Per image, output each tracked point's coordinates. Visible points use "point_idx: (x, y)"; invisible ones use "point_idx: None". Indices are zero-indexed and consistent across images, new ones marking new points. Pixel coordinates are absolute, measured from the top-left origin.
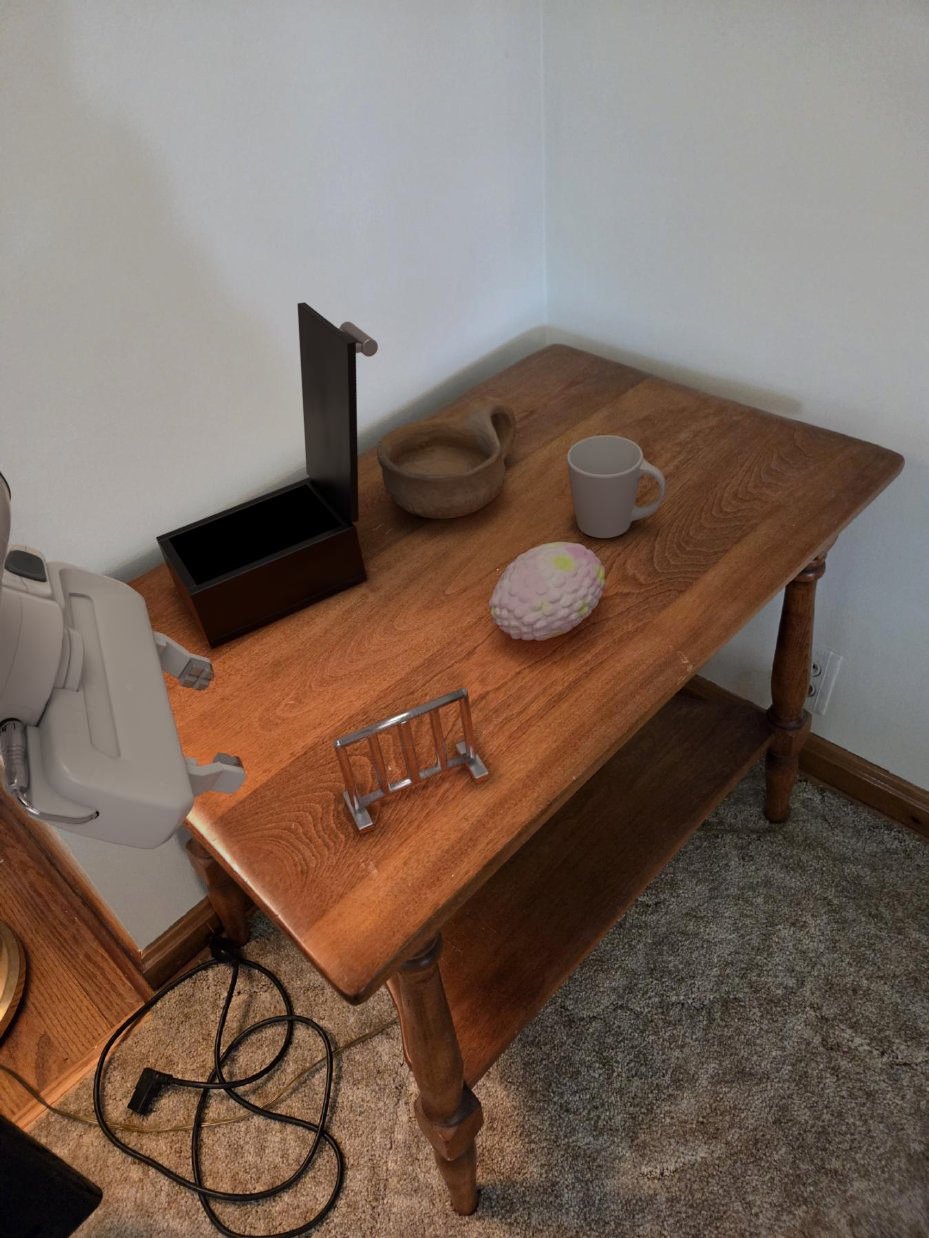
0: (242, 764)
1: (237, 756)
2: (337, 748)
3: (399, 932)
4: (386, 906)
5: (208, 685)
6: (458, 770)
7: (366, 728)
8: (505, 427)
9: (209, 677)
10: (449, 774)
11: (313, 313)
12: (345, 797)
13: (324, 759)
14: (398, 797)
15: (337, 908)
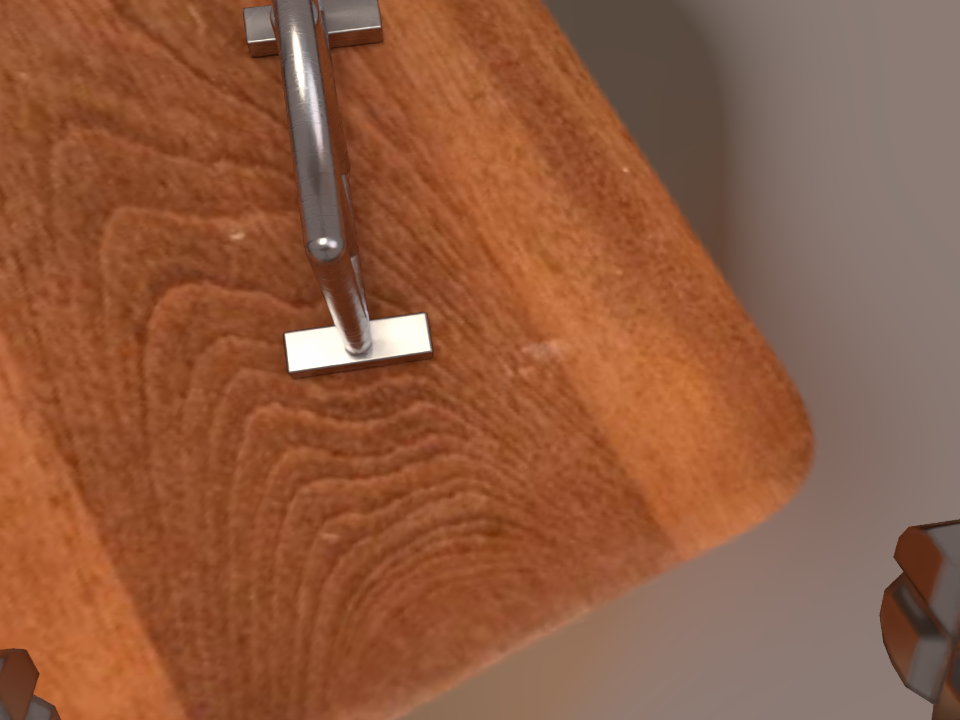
0: (954, 521)
1: (937, 538)
2: (343, 255)
3: (739, 325)
4: (662, 339)
5: (52, 710)
6: None
7: (305, 129)
8: None
9: (22, 691)
10: None
11: None
12: (310, 367)
13: (123, 408)
14: None
15: (631, 459)
